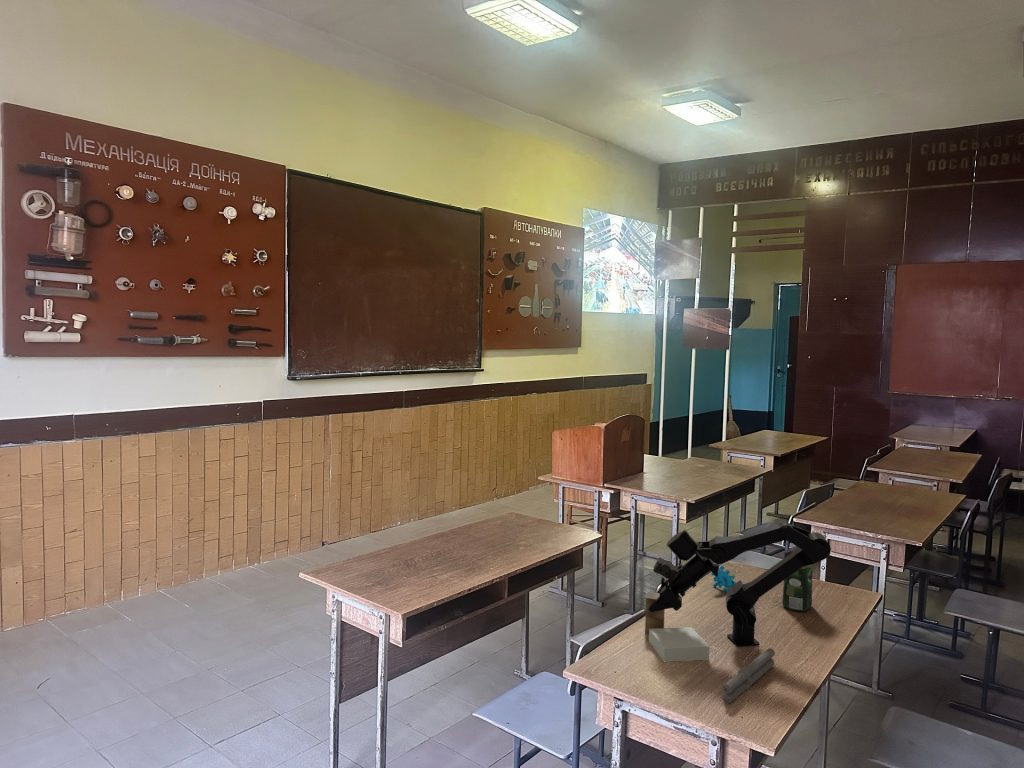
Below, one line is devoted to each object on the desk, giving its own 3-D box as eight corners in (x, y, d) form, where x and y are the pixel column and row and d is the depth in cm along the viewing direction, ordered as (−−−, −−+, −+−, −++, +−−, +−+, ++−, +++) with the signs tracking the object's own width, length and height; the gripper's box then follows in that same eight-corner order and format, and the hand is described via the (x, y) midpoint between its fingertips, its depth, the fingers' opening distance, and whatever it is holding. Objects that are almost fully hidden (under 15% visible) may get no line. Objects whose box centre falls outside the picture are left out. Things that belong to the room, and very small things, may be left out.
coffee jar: (788, 599, 222) (790, 541, 221) (814, 605, 217) (816, 546, 216) (778, 608, 214) (781, 548, 213) (805, 614, 209) (808, 554, 208)
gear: (724, 591, 223) (709, 564, 229) (712, 600, 226) (697, 573, 232) (745, 589, 229) (729, 562, 235) (732, 598, 233) (717, 571, 238)
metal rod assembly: (765, 664, 177) (765, 645, 177) (775, 668, 175) (776, 649, 175) (719, 703, 158) (720, 682, 158) (731, 707, 156) (732, 686, 156)
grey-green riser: (708, 661, 179) (709, 646, 178) (663, 663, 177) (664, 648, 177) (691, 641, 191) (691, 627, 190) (648, 643, 189) (649, 628, 189)
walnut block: (664, 627, 198) (665, 593, 198) (663, 635, 193) (664, 600, 193) (646, 625, 200) (647, 591, 199) (645, 632, 195) (646, 598, 194)
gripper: (672, 541, 203) (633, 574, 206) (670, 560, 185) (627, 596, 188) (699, 570, 201) (659, 603, 205) (699, 592, 183) (656, 628, 187)
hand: (650, 606), depth 196 cm, fingers open, 5 cm apart
